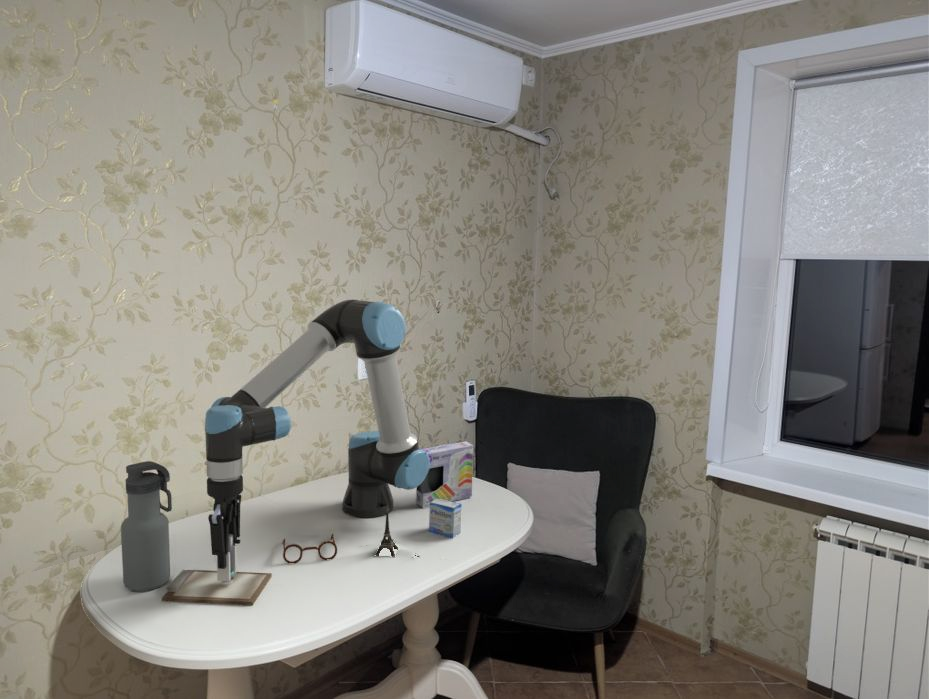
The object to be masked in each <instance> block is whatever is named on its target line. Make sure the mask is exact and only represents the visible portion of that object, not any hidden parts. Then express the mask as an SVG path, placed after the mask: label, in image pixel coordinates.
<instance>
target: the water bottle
mask: <svg viewBox="0 0 929 699" xmlns="http://www.w3.org/2000/svg"><path fill="white" fill-rule="evenodd" d="M153 470H154V471H156V472H157V473H155V472H152V471H153ZM148 471H149V472H148ZM150 471H151V472H150ZM125 472H126V474H127V478H125V481H124V482H125V493H126V494H127V496H126V497H127V513H128V514H127V517H125V519H124V520H123V521H122V523H121V525H120V537H121V538H120V539H121V540H120V542H121V558H122V560H121V562H122V580H123V582H122V583H123V586H124V587H125V589H128V590H129V591H133V592H146V591H147V592H149V591H152V589H153V590H154V589H155V588H156V589H158V588H160V587H162V586H164V585H165V584H167V583H168V582H169V581H170V578H171V556H170V554H171V552H170V528H169V527H170V526H169V519H168V516H167V515H165V514H164V513H162V512H161V510H163V511H165V512H167V513H168V512H171V511H172V509H173V508H172V507H173V506H172V505H173V503H172V502H173V501H172V492H171V491H170V490H169V489H168V482H170V481H171V477H170V476H171V475H170V472H169V470H168V469H167V467H165V466H163V465H161V464H159V463H157V462H155V461H152V460H151V461H150V460H149V461H148V460H145V461H142V462H137V463H132V464H128V465H126V467H125ZM161 491H162V492H164V493H165V494H166V496H167V506H165V505H163V504H162V503H161V496H160V495H161V494H160V493H161Z"/></svg>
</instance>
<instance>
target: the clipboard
mask: <svg viewBox="0 0 929 699" xmlns="http://www.w3.org/2000/svg"><path fill="white" fill-rule="evenodd" d="M272 576H273V574H272V573H271V572H250V571H249V572H248V571H237V572H236V573H234V579H233V583H232V584H230V585H222V583H221V581H217V570H208V569H207V570H204V569H203V570H202V569H182V570H181V571H180V572H179V573H178V574H177V575H176V577H174V578H173V580H172V581H171V582H170V583H169V584H168V585H167V586H166V592H165V593H164V595H162V596H161V602H173V603H174V602H175V603H192V604H194V603H195V604H197V603H198V604H215V605H216V604H219V605H237V606H238V605H239V606H254V604H255V603H256V601H257V599H258V598H259V597H260V595H261V593H262V592H263V590H264V589H265V588H266V586H267V585H268V583H269V582H270V579H271V578H272Z"/></svg>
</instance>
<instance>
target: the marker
mask: <svg viewBox="0 0 929 699" xmlns="http://www.w3.org/2000/svg"><path fill="white" fill-rule="evenodd" d="M228 552H230V574H231V580H230V581H221V583H222V585H230V584H232V583H233V579H234V552H233V535H232V534H229V540H228Z"/></svg>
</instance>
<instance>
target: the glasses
mask: <svg viewBox="0 0 929 699" xmlns="http://www.w3.org/2000/svg"><path fill="white" fill-rule="evenodd" d="M330 538H331V539H330V540H332V541H330V540H325V541H323V542H321V544H319V545H318V546H307V547H303V546H300V545H299V544H295V543H292V544H291V543H290V544H288V545H287V546H286V538H283V539H282V542H283V543H282V544H283V551H282V558H283V560H284V562H285V563H287V564H289V563H294V564H297V563H299V562H300V561H301V559H302V558H303V554H304V553H303V552H304V551H311V550H317V554H318V556H319V558H320V559H321V560H322V561H328V560H327V559H331V560H333V559H335V558H336V556H337V554H338V547H337V545H336V544H337V543H336V541H335V537H334V533H331V536H330ZM326 544H327V545H328V544H330V545H332V546H333V547H334V553H333V555H332V556H330V557H324V556H323V555H322V554H321V548H322V547H323V546H325V545H326ZM293 547H294V548H297V549H298V550H299V552H300V553H299V554H300V555H299V558H298V559H296V560H289V559H288V558H287V556H286V552H287V550H288V549H290V548H293Z"/></svg>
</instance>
